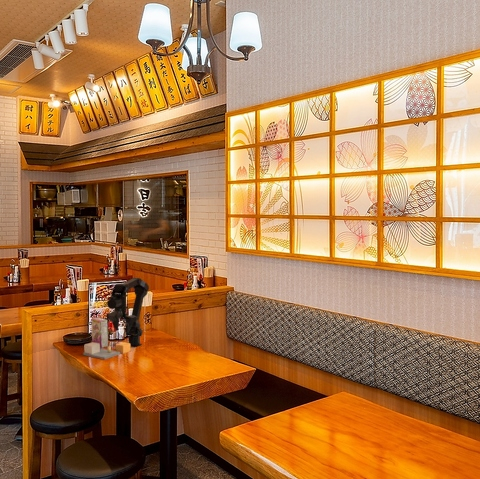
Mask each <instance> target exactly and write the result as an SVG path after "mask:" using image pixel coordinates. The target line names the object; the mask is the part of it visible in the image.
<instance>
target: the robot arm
mask: <svg viewBox="0 0 480 479" xmlns="http://www.w3.org/2000/svg"><path fill="white" fill-rule="evenodd" d="M132 288H133V289H134V290H133V292H134V295H135V298H134V302H133V306H132V310H131V314H129V313H127V309H129V306H128V305H127V297H128V294H127V293H129V291H130V290H131V289H132ZM149 290H150V285H149V284H148V283H147V282H145V281H144V280H143V279H142V278H140V277H132V278H131V279H129V280H127V281H125V282H122V283H120V282H119V283H116V284H114V286H113V288H112V291H111V293H110V294H111V295H110V298H109V299H108V300H107V303H106V304H107V307H108V309H111V310H113V309H114V310H113V311H111V312H109V313H107V315H106V320H107V321H110V322H111V323H112V325H113V329H114V331H118V327H119V320H120V319H121V320H124V321H125V322H124V324H125V328H124V332H125V336H128V343H130V347H132V348H136V347H139V346H141V345H143V344H142V343H141V342H140V341H141V340H140V338H141V337H142V336H143V330H142V328H141V324H140V316H141V313H142V312H141V311H142V306H143V303H144V299H145V297H146V296H147V295H148V292H149Z"/></svg>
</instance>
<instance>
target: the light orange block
mask: <svg viewBox="0 0 480 479" xmlns="http://www.w3.org/2000/svg"><path fill="white" fill-rule="evenodd" d="M131 349H132V348H131V346H130V343H129V342H125V341H121V342H118V343H115V351H118V352H120V354H124V355H125V354H127V353H129V352H131Z"/></svg>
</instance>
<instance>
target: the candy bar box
mask: <svg viewBox="0 0 480 479" xmlns="http://www.w3.org/2000/svg"><path fill="white" fill-rule="evenodd" d="M90 322H91V342H94V343H99V344H100V348H102V349H104V348H107V347H108V346H109V333H108V332H109V331H108V324H109V323H108V319H105V318H102V317H101V318H100V317H92V318H91V321H90Z"/></svg>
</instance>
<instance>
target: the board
mask: <svg viewBox="0 0 480 479" xmlns="http://www.w3.org/2000/svg"><path fill="white" fill-rule="evenodd" d="M83 345H84V346H83V347H84V352H82V355H83V356H86V357H91V358H96V359H100V360H101V359H102V360H107V359H110V358H113V357H116V356H118V355H121V353H120V352H118V351H116V350H112V346H111V345H108V346H107V347H106V349H105V348H101V347H100V344H99V343H94V342H92V341H91V342H89V343H85V344H83Z"/></svg>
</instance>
